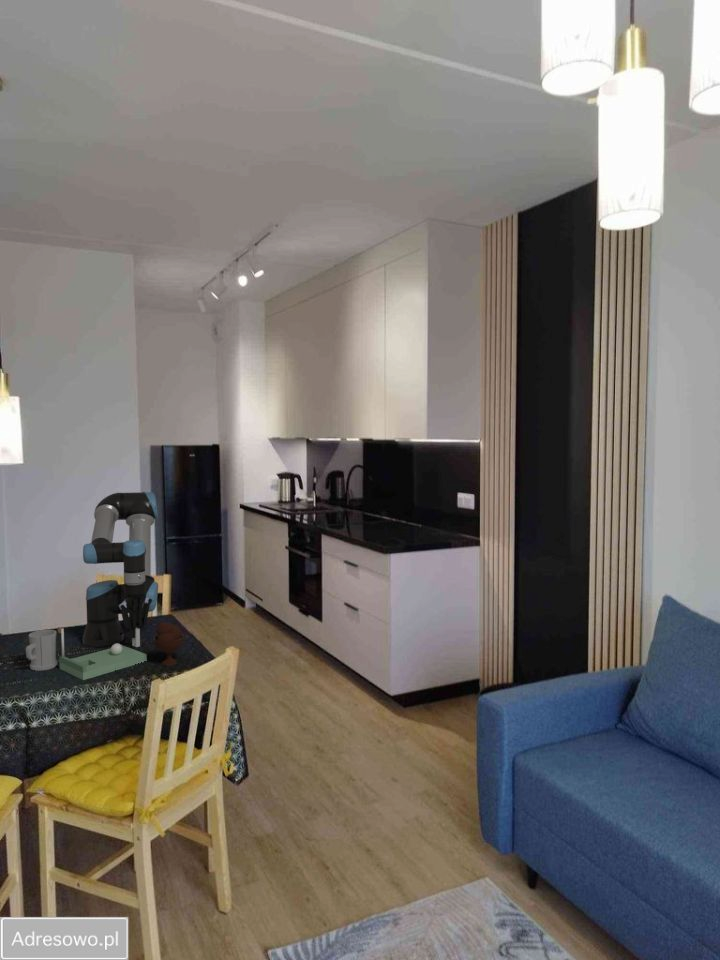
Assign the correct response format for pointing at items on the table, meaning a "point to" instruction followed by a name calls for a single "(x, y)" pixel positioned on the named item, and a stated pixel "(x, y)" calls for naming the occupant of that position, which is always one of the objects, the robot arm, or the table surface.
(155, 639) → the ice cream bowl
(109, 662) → the putting mat
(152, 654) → the table surface
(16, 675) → the table surface
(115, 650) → the ball
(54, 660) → the cup
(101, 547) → the robot arm
